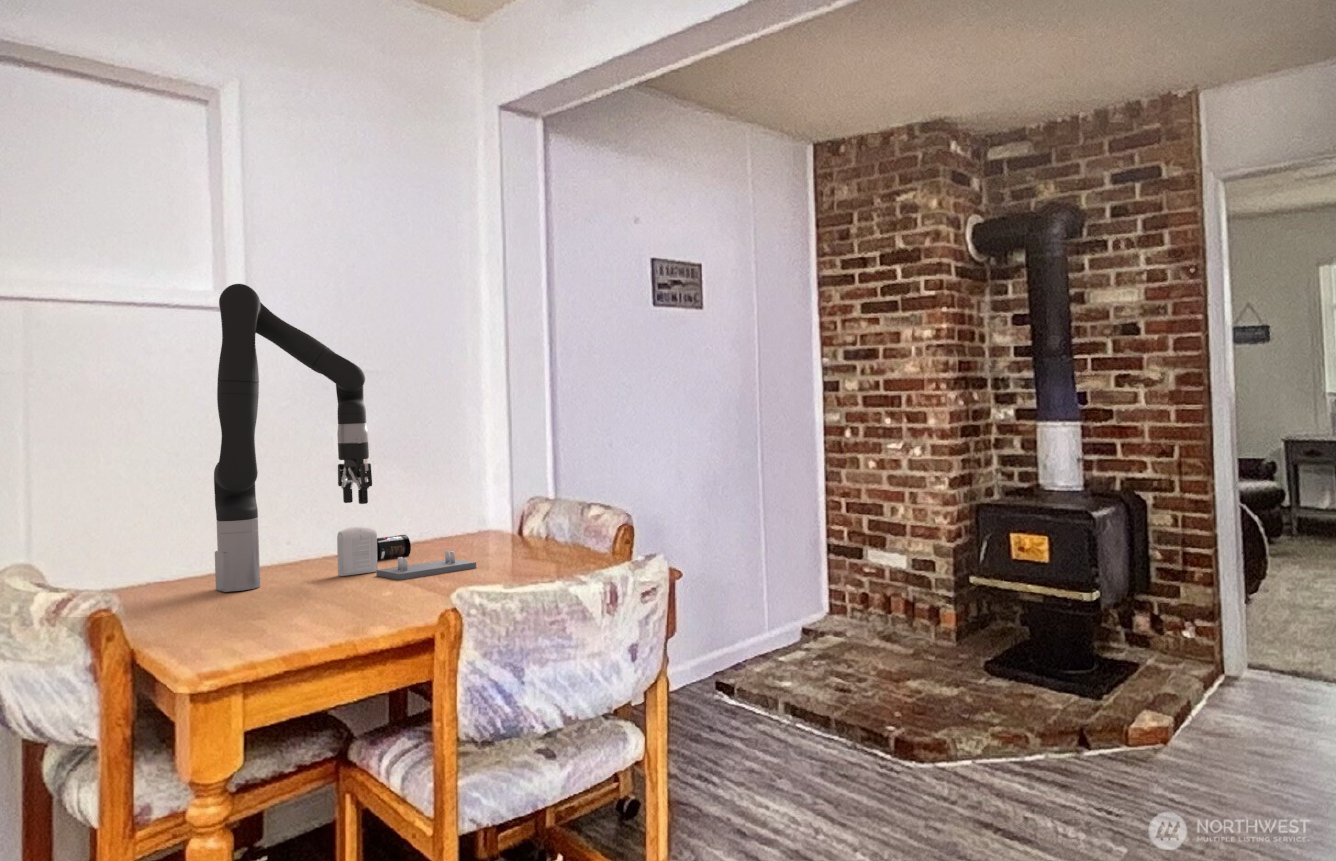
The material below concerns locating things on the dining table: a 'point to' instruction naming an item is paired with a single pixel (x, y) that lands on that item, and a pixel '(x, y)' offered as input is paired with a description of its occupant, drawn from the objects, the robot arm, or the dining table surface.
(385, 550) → the supplement container
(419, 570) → the pin dock
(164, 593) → the dining table surface
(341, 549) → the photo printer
